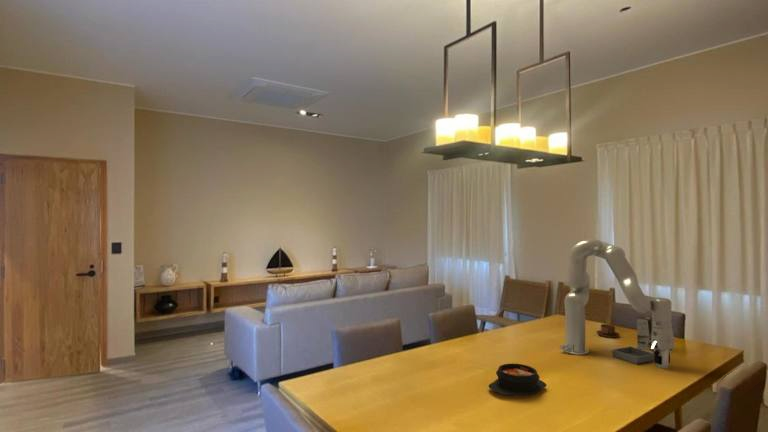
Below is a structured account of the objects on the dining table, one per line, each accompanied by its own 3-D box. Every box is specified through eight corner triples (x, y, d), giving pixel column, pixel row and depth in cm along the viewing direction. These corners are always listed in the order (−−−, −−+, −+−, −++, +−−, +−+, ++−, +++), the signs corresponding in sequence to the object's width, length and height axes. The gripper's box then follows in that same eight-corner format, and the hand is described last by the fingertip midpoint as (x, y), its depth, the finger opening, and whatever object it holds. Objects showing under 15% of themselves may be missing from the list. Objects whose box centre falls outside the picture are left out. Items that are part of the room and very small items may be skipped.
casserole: (523, 377, 185) (523, 358, 185) (557, 392, 168) (557, 371, 168) (478, 387, 173) (478, 367, 173) (510, 405, 157) (510, 382, 157)
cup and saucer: (622, 339, 242) (622, 328, 243) (600, 338, 245) (600, 327, 245) (615, 333, 254) (615, 323, 254) (594, 332, 257) (594, 322, 257)
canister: (664, 369, 194) (664, 349, 194) (653, 365, 198) (653, 346, 199) (671, 367, 196) (670, 348, 196) (660, 364, 200) (660, 345, 201)
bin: (636, 364, 200) (636, 357, 200) (612, 356, 212) (612, 349, 212) (655, 361, 205) (655, 353, 205) (630, 353, 217) (629, 346, 217)
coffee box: (651, 350, 221) (650, 320, 221) (636, 348, 225) (636, 318, 225) (652, 346, 228) (652, 317, 228) (638, 344, 232) (638, 315, 232)
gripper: (657, 328, 191) (658, 368, 190) (681, 324, 197) (682, 363, 197) (642, 324, 197) (642, 362, 197) (665, 320, 204) (665, 358, 204)
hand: (662, 362), depth 197 cm, fingers closed on canister, 5 cm apart
